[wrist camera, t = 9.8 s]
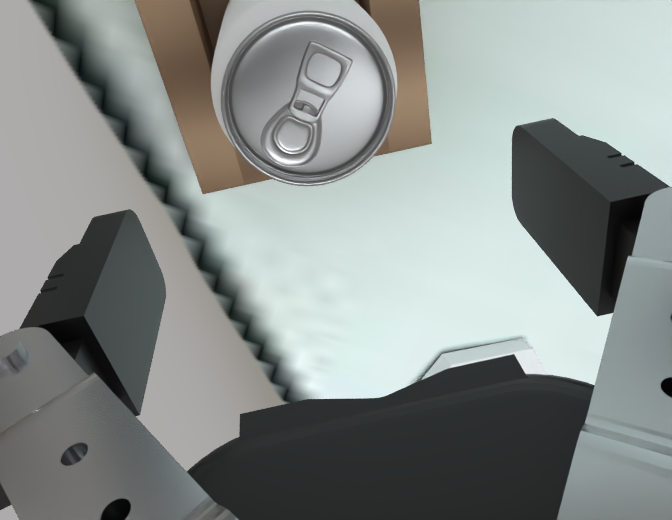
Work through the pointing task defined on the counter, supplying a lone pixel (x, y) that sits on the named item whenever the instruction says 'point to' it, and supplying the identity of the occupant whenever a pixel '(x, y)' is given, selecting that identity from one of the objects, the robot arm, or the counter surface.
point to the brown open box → (195, 81)
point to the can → (303, 87)
